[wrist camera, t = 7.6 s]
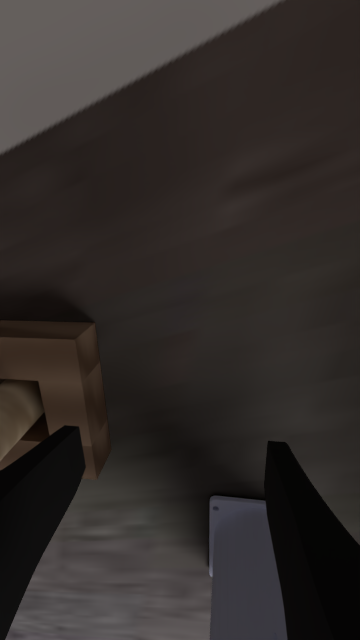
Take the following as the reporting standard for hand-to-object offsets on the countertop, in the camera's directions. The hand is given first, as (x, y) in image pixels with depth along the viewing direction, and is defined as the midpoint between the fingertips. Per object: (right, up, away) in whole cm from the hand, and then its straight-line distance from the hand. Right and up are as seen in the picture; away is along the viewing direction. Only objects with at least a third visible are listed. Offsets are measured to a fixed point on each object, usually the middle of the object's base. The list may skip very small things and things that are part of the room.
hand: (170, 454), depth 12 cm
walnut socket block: (-11, 0, +12) cm, 16 cm away
